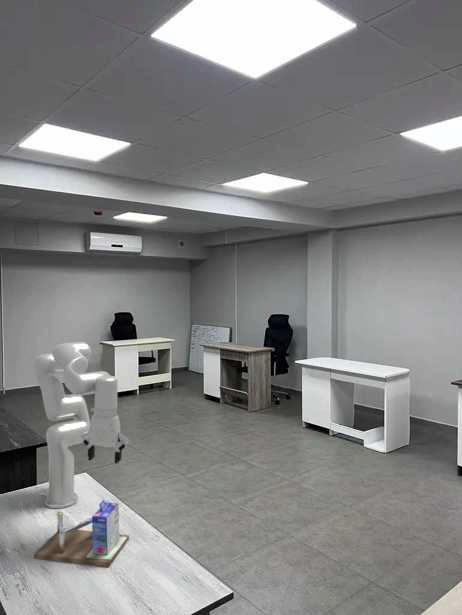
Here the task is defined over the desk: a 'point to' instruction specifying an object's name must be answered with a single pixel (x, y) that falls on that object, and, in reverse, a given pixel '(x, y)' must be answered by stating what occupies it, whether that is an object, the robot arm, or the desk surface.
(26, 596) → the desk surface
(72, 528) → the bent wire
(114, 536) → the ink cartridge box
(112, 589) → the desk surface
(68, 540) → the board
